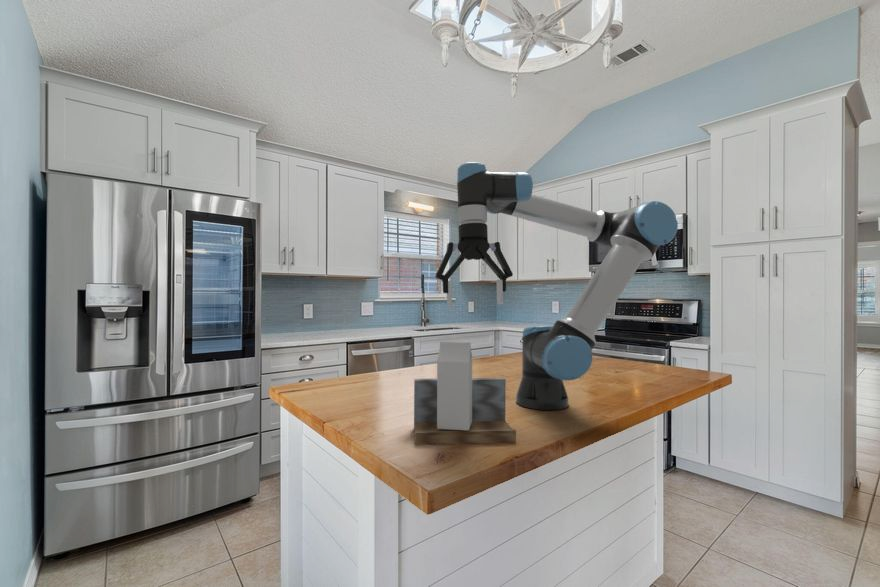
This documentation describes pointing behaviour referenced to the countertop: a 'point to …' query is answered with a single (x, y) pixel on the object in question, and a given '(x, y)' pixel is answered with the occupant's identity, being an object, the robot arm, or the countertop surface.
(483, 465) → the countertop surface
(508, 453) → the countertop surface
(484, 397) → the wall board
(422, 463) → the countertop surface
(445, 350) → the milk carton
